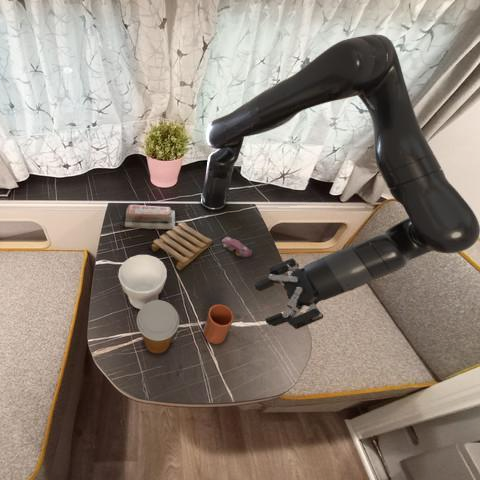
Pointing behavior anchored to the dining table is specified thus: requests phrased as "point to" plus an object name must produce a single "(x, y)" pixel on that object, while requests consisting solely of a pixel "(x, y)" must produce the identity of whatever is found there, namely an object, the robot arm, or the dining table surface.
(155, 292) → the cup
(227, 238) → the pink oblong lump
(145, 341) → the disposable coffee cup
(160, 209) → the packaged product
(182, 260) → the wooden slatted trivet
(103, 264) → the dining table surface
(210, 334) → the tumbler
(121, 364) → the dining table surface
